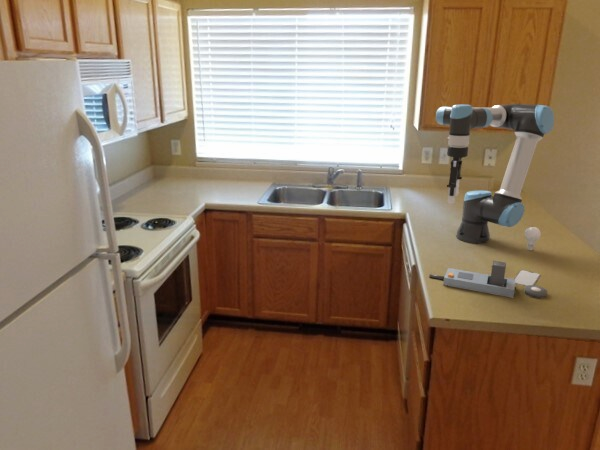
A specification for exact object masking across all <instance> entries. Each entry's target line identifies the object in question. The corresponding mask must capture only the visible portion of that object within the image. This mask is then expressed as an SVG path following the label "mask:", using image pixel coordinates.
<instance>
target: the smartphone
mask: <svg viewBox="0 0 600 450" xmlns="http://www.w3.org/2000/svg"><path fill="white" fill-rule="evenodd" d="M540 277H541V274H540V273H539V272H538V273H537V272H534V271H529V270H525V269H520V270H519V272H518V273H517V274H516V275H515V277H514V278H513V279H515V285H519V286H524V287H526V286H528V285H535V284H536V283H537V281H538V280H539V278H540Z"/></svg>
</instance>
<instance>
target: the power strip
mask: <svg viewBox="0 0 600 450" xmlns="http://www.w3.org/2000/svg"><path fill="white" fill-rule="evenodd" d="M429 278H433V279H437V278H438V280H443V284H442V285H443V286H447V285H448V287H453V288H458V289H464V290H470V291H475V292H480V293H485V294H491V295H497V296H502V297H508V298H512V299H513V298H514V296H515V288H516V284H515V279H514V278H510V277H505V276H504V282H503V287H501V286H495V285H490V279H491V274H488V273H487V274H486V273H480V272H475V271H469V270H468V271H467V270H463V269H462V270H461V269H457V268H452V267H451V268H450V267H447V270H446V272H445V275H444V276H442V275H439V274H438V275H436V274H432V273H429Z"/></svg>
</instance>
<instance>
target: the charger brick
mask: <svg viewBox="0 0 600 450" xmlns="http://www.w3.org/2000/svg"><path fill="white" fill-rule="evenodd" d="M506 267H507V262H505V261H504V262H503V261H498V260H493V261H492V265H491V270H490V271H491V273H490V275H491V279H490V283H489V284H490V285H495V286H501V287H504V286H503V282H504V277H505V274H506Z"/></svg>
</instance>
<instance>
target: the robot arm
mask: <svg viewBox="0 0 600 450" xmlns="http://www.w3.org/2000/svg"><path fill="white" fill-rule="evenodd" d="M435 121H436V122H437V124H438V125H441V126H448V127H449V131H448V132H449V133H448V136H447V137H446V139H447V140H448V141H447V142H448V143H447V144H448V146H447V151H446V156H447V157H449V158H451V157H452V159H451V161H450V174H449V179H448V180H449V181H448V184H446V188H448V189H447V190H448V191H447V201H446V204H450V205H455V204H456V203H455V202H456V196H459V191H460V190H459V189H460V181H461V180H462V179H463V176H462V174H461V171H462V166H463V165H462V164H463V160H462V158H466V157H468V154H469V145H470V136H471V135H470V133H471V130H475V129H476V130H477V129H484V128H487V127H489V126H490V127H492V128H502V129H506V130H511V131H514V135H515V137H516V139H515V140H514V141H515V142H514V146H513V149H512V150H511V154H510V157H509V160H508V163H507V166H506V170H505V172H504V175H503V178H502V182H501V184H500V188H499V190H497V191H495V192H494V194H492V191H490V190H470V191H467V192H466V193H465V194H464V199H463V206H462V215H461V222H460V223H459V226H458V228H457V229H456V233H455V237H456V239H458V240H460V241H463V242H465V243H471V244H484V243H488V242H489V241H490V238H491V235H490V230H489V225H488V224H489V223H491V224H496V225H498V226H501V227H506V228H512V227H514V226H516V225H517V224H519V223H520V221H521V220H522V218H523V216H524V215H525V214H524V213H525V205H524V203H522V200H523V197H522V196H521V193H522V189H523V188H524V184H525V180H526V177H527V175H528V171H529V169H530V165H531V162H532V160H533V157H534V153H535V150H536V147H537V146H538V142H540V141H541V140H543V139H544V136H545V135H547V134H550V133H551V131H552V130H553V128H554V123H555V114H554V110H553V109H552V108H551V106H548V105H542V104H530V103H529V104H527V103H526V104H525V103H524V104H523V103H509V104H497V105H493V106H492V107H484V106H483V107H473V105H471V104H463V103H462V104H454V105H452V106H448V105H446V106H441V107H438V109H437V110H436V112H435Z"/></svg>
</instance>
